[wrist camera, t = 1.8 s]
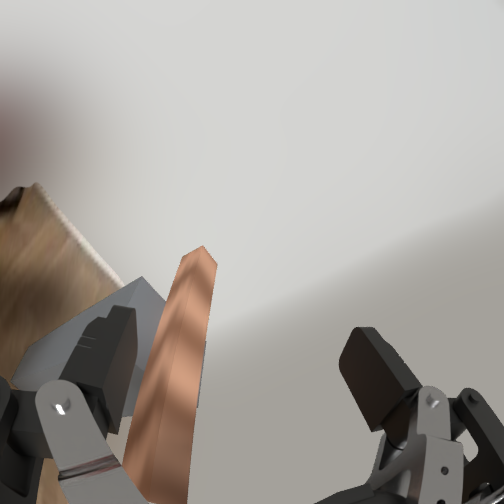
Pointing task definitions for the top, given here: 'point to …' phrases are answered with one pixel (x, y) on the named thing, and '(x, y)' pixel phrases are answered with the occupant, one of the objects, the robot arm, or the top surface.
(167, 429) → the batten
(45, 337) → the pedestal
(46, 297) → the top surface
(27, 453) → the robot arm
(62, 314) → the top surface
